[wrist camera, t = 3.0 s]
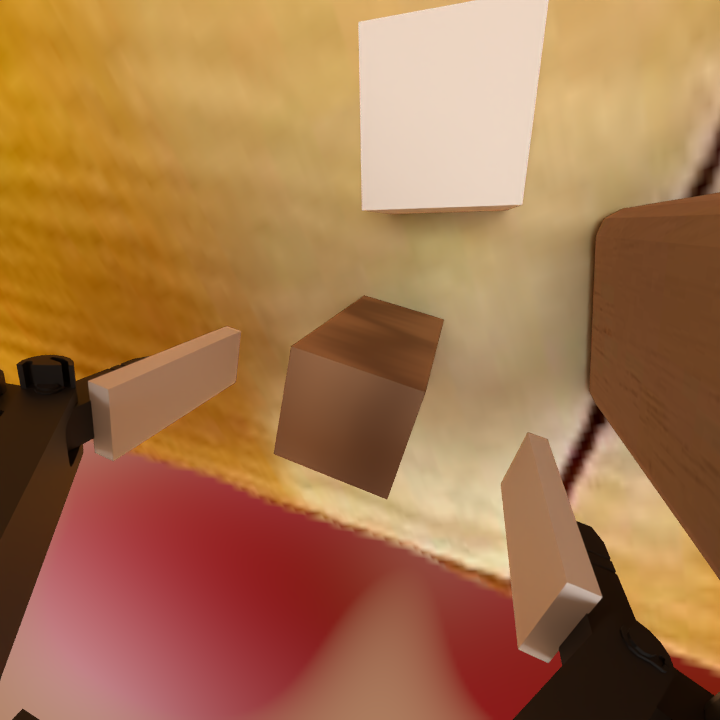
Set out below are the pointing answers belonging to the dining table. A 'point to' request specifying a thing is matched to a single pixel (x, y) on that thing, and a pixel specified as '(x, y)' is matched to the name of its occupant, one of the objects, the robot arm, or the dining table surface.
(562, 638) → the robot arm
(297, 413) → the walnut block
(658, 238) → the block
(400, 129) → the pale pink cube
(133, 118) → the dining table surface
